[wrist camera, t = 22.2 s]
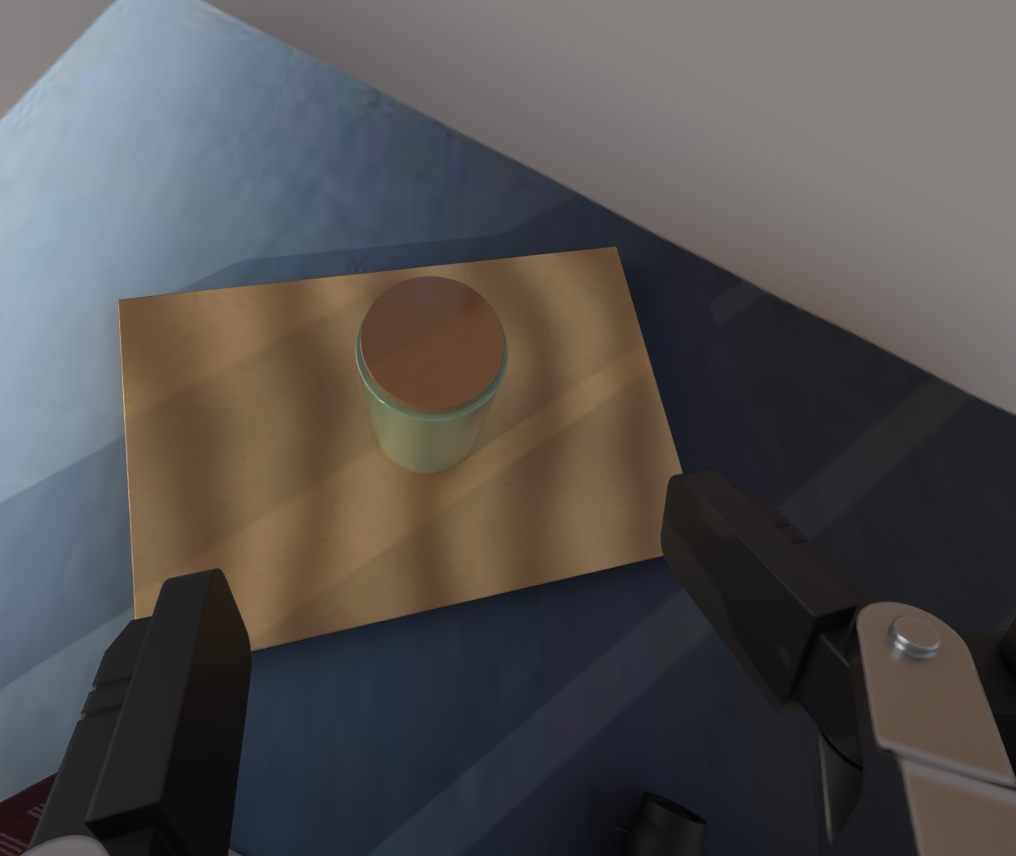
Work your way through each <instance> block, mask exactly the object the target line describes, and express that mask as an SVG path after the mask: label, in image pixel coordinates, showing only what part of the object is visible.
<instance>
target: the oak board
mask: <svg viewBox="0 0 1016 856" xmlns="http://www.w3.org/2000/svg"><path fill="white" fill-rule="evenodd" d="M422 276H437V277H444V278H449V279H453V280H456V281H459V282H461V283H463V284H466V285H467V286H469V287H471V288H472V289H474V290H475V291H477V292H478V293H479V294H481V295H482V296H483V297H484V298H485V299H486V300H487V301H488V302H489V304H490V305H491V306H492V307H493V309H494V310H495V312H496V314H497V315H498V317H499V320H500V322H501V324H502V326H503V329H504V331H505V335H506V338H507V344H508V363H507V368H506V372H505V375H504V378H503V380H502V382H501V385H500V387H499V390H498V392H497V394H496V397H495V399H494V402H493V404H492V406H491V409H490V411H489V413H488V416H487V418H486V421H485V423H484V425H483V428H482V430H481V433H480V435H479V437H478V440H477V442H476V444H475V446H474V448H473V450H472V451H471V453H470V454H469V455H468V456H467V457H466V458H465V459H464V460H463V461H462V462H461V463H459V464H458V465H456V466H455V467H453V468H451V469H448V470H446V471H443V472H439V473H431V474H424V473H416V472H413V471H409V470H407V469H404V468H402V467H400V466H399V465H397V464H396V463H394V462H393V461H392V460H391V459H390V458H389V457H388V456H387V455H386V454H385V453H384V452H383V450H382V449H381V447H380V445H379V443H378V441H377V438H376V435H375V431H374V427H373V423H372V420H371V416H370V412H369V408H368V405H367V401H366V397H365V393H364V390H363V386H362V382H361V378H360V374H359V371H358V367H357V362H356V356H355V340H356V335H357V331H358V328H359V325H360V323H361V321H362V319H363V317H364V315H365V314H366V312H367V311H368V309H369V307H370V306H371V305H372V303H373V302H374V301H375V300H376V299H377V298H378V297H379V296H380V295H381V294H382V293H383V292H384V291H386V290H387V289H388V288H390V287H392V286H393V285H395V284H397V283H399V282H402V281H404V280H408V279H411V278H416V277H422ZM118 314H119V332H120V350H121V369H122V387H123V405H124V423H125V441H126V460H127V478H128V496H129V514H130V533H131V551H132V569H133V587H134V605H135V619H140V618H144V617H149V616H152V614H153V611H154V608H155V605H156V602H157V599H158V596H159V593H160V590H161V587H162V585H163V583H164V581H165V580H166V579H168V578H172V577H177V576H182V575H186V574H191V573H196V572H201V571H206V570H211V569H215V568H219V569H221V570H222V571H223V573H224V575H225V577H226V579H227V582H228V584H229V587H230V589H231V592H232V594H233V597H234V599H235V602H236V604H237V607H238V609H239V612H240V614H241V617H242V619H243V622H244V624H245V627H246V629H247V632H248V636H249V640H250V646H251V652H252V651H256V650H261V649H265V648H269V647H274V646H278V645H282V644H287V643H291V642H295V641H299V640H304V639H308V638H312V637H317V636H321V635H325V634H330V633H334V632H338V631H343V630H347V629H351V628H355V627H360V626H364V625H368V624H373V623H377V622H381V621H386V620H390V619H394V618H398V617H403V616H407V615H411V614H416V613H420V612H424V611H429V610H433V609H437V608H441V607H446V606H450V605H454V604H459V603H463V602H467V601H472V600H476V599H480V598H485V597H489V596H493V595H497V594H502V593H506V592H510V591H515V590H519V589H523V588H528V587H532V586H536V585H540V584H545V583H549V582H553V581H558V580H562V579H566V578H571V577H575V576H579V575H584V574H588V573H592V572H596V571H601V570H605V569H609V568H614V567H618V566H622V565H627V564H631V563H635V562H639V561H644V560H648V559H652V558H657V557H661V556H664V555H663V552H662V548H661V541H660V536H661V528H662V521H663V514H664V507H665V500H666V493H667V486H668V482H669V479H670V478H671V477H672V476H673V475H677V474H682V473H683V472H682V469H681V466H680V462H679V459H678V455H677V452H676V449H675V445H674V442H673V438H672V435H671V432H670V428H669V425H668V421H667V418H666V414H665V411H664V408H663V404H662V401H661V397H660V394H659V391H658V387H657V384H656V380H655V377H654V374H653V370H652V367H651V363H650V360H649V357H648V353H647V350H646V346H645V343H644V340H643V336H642V333H641V329H640V326H639V322H638V319H637V316H636V312H635V309H634V305H633V302H632V299H631V295H630V292H629V288H628V285H627V282H626V278H625V275H624V271H623V268H622V265H621V261H620V258H619V254H618V251H617V248H616V247H608V248H598V249H589V250H580V251H570V252H561V253H552V254H542V255H533V256H523V257H514V258H505V259H495V260H486V261H476V262H467V263H458V264H448V265H439V266H429V267H420V268H411V269H401V270H392V271H382V272H373V273H364V274H354V275H345V276H335V277H326V278H317V279H307V280H298V281H288V282H279V283H270V284H260V285H251V286H241V287H232V288H223V289H213V290H204V291H194V292H185V293H176V294H166V295H157V296H147V297H138V298H129V299H119V300H118Z"/></svg>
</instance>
